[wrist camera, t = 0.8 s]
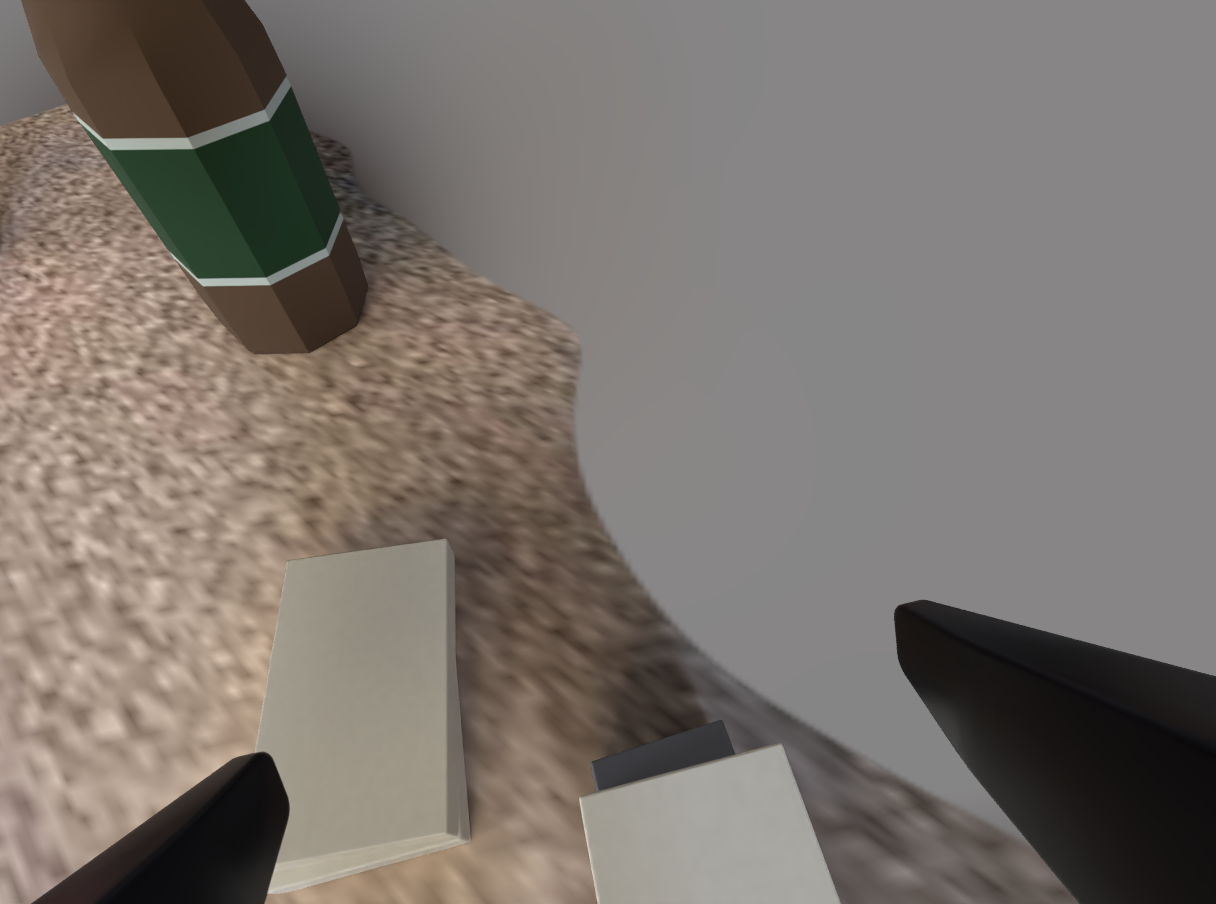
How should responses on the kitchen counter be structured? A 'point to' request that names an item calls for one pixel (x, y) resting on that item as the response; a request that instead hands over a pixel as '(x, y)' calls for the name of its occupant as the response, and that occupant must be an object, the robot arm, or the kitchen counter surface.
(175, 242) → the beer bottle
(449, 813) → the cream flat block
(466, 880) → the kitchen counter surface
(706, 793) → the white book
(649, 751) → the dark grey rectangular block
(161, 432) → the kitchen counter surface
